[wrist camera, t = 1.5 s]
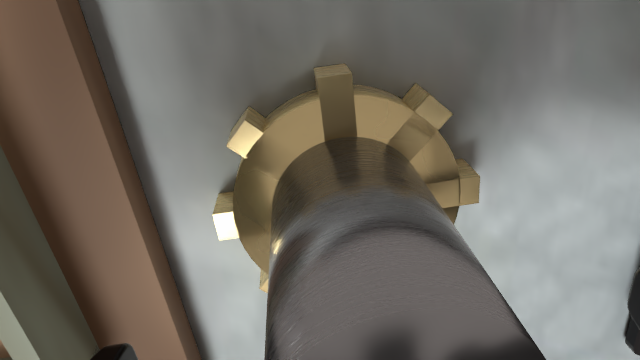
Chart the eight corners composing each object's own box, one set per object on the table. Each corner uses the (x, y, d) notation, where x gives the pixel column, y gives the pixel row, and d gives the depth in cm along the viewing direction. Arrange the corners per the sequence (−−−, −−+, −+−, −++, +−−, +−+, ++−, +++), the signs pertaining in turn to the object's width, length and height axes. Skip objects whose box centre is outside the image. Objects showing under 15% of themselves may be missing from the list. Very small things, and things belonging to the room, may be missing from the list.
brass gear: (465, 46, 11) (744, 153, 4) (459, 267, 14) (614, 524, 7) (190, 84, 11) (47, 253, 4) (246, 298, 14) (212, 589, 7)
